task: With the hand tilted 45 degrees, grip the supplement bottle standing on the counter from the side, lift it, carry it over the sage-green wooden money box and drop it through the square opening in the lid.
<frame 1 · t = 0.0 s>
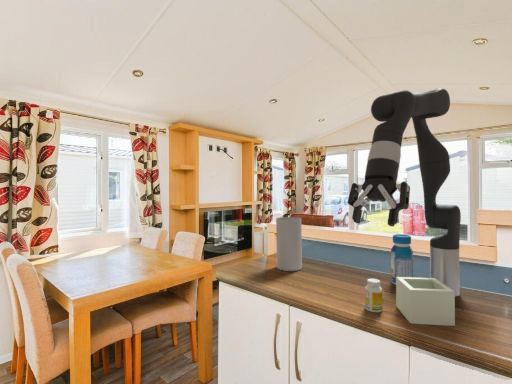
hand: (372, 224, 69), 31 cm above the worktop, tool tilted 20°, fingers open, 8 cm apart
supplement bottle: (373, 309, 94), on the worktop
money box: (423, 315, 89), on the worktop
cylinder vase: (289, 268, 142), on the worktop
beverage bottle: (402, 283, 118), on the worktop
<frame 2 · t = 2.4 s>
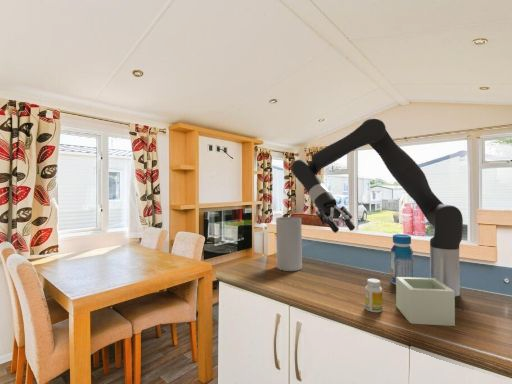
hand: (345, 230, 103), 25 cm above the worktop, tool tilted 45°, fingers open, 8 cm apart
nothing on the worktop moved.
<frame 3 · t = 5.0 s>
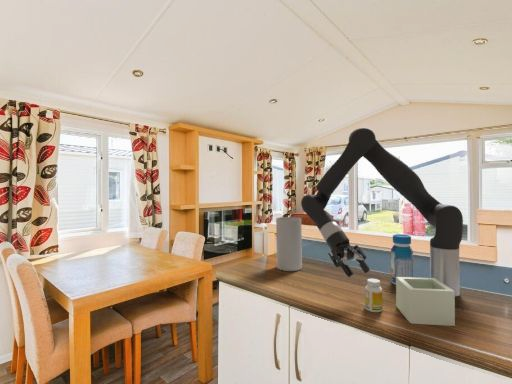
hand: (359, 273, 98), 10 cm above the worktop, tool tilted 45°, fingers open, 8 cm apart
nothing on the worktop moved.
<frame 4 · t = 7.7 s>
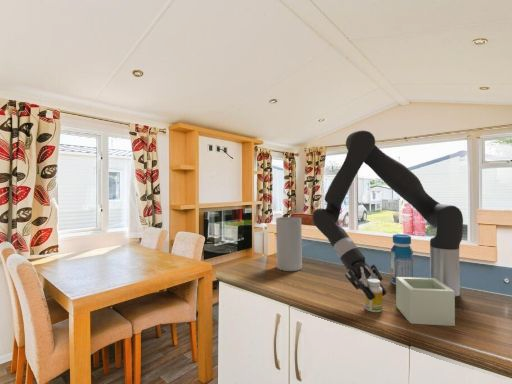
hand: (378, 296, 92), 5 cm above the worktop, tool tilted 45°, fingers closed on supplement bottle, 5 cm apart
supplement bottle: (373, 309, 94), on the worktop, touching gripper
everything else where it was.
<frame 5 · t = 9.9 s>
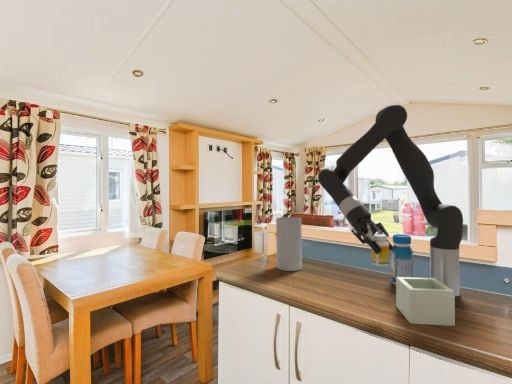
hand: (385, 250, 91), 20 cm above the worktop, tool tilted 45°, fingers closed on supplement bottle, 5 cm apart
supplement bottle: (380, 264, 93), point 15 cm above the worktop, touching gripper
everything else where it was.
when the fingers open (17 cm above the worktop, at t = 12.3 s): supplement bottle drops 11 cm, resting on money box.
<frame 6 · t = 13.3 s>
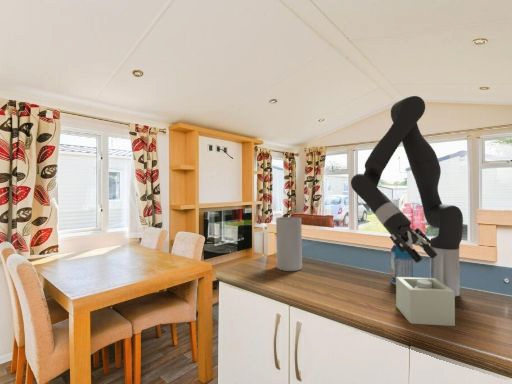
hand: (427, 259, 87), 18 cm above the worktop, tool tilted 45°, fingers open, 8 cm apart
supplement bottle: (422, 312, 89), point 1 cm above the worktop, touching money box
everything else where it was.
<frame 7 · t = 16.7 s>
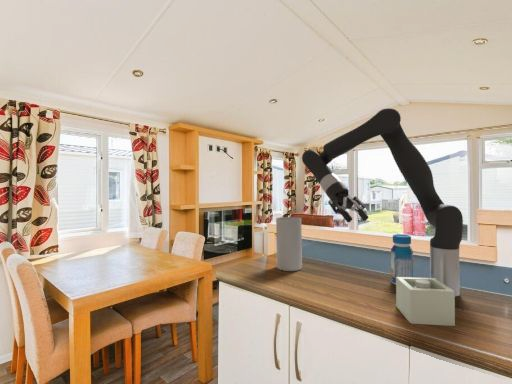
hand: (358, 220, 101), 29 cm above the worktop, tool tilted 45°, fingers open, 8 cm apart
nothing on the worktop moved.
at the end: supplement bottle inside the target area on the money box (0.2 cm from its centre), point 0.8 cm above the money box's base; the gripper is holding nothing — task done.
